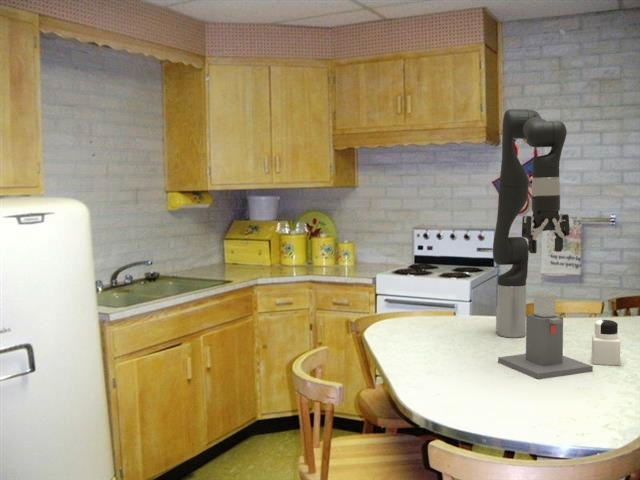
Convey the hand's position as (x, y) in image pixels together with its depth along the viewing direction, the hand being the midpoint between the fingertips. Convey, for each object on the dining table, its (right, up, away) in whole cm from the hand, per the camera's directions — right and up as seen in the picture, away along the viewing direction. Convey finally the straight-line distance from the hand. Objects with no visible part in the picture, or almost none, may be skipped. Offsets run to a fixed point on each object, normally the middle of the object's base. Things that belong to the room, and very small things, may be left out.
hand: (545, 252), depth 189 cm
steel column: (0, -30, +2) cm, 30 cm away
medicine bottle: (+19, -32, +6) cm, 38 cm away
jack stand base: (0, -32, +3) cm, 32 cm away
